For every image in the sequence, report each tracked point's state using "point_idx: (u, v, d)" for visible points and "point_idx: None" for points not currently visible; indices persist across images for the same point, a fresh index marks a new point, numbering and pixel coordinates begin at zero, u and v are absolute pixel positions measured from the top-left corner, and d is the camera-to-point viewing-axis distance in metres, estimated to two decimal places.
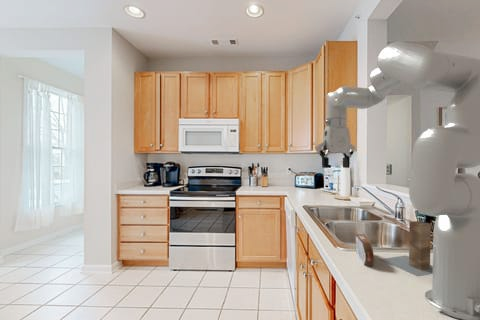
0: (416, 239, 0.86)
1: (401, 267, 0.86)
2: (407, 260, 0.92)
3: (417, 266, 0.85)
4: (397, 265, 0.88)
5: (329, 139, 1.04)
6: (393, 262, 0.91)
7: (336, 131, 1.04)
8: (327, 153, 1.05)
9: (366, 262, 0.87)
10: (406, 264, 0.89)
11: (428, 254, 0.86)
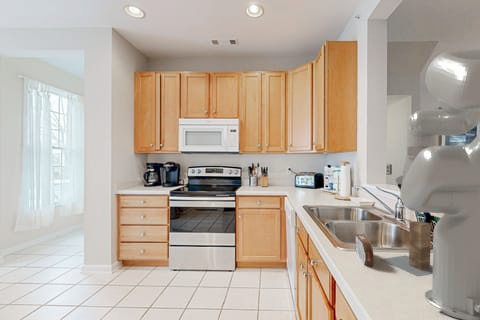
0: (416, 239, 0.86)
1: (401, 267, 0.86)
2: (407, 260, 0.92)
3: (417, 266, 0.85)
4: (397, 265, 0.88)
5: None
6: (393, 262, 0.91)
7: None
8: None
9: (366, 262, 0.87)
10: (406, 264, 0.89)
11: (428, 254, 0.86)
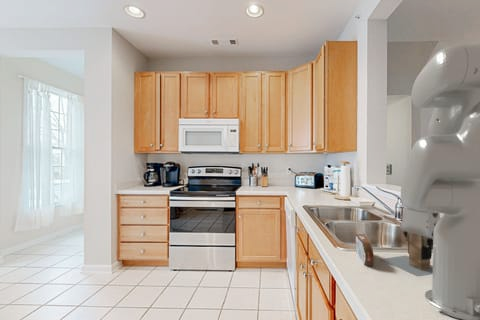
0: (416, 239, 0.86)
1: (401, 267, 0.86)
2: (407, 260, 0.92)
3: (417, 266, 0.85)
4: (397, 265, 0.88)
5: None
6: (393, 262, 0.91)
7: None
8: None
9: (366, 262, 0.87)
10: (406, 264, 0.89)
11: None
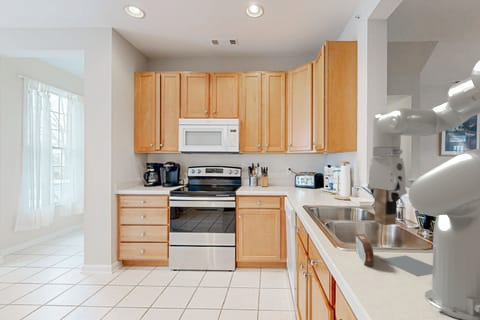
0: (381, 194, 0.84)
1: (401, 267, 0.86)
2: (407, 260, 0.92)
3: (382, 222, 0.84)
4: (397, 265, 0.88)
5: (404, 175, 0.81)
6: (393, 262, 0.91)
7: None
8: None
9: (366, 262, 0.87)
10: (406, 264, 0.89)
11: None
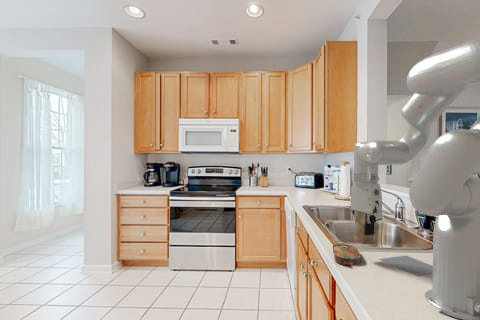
0: (361, 216, 0.92)
1: (401, 267, 0.86)
2: (407, 260, 0.92)
3: (360, 241, 0.91)
4: (397, 265, 0.88)
5: (381, 199, 0.89)
6: (393, 262, 0.91)
7: None
8: None
9: None
10: (406, 264, 0.89)
11: None
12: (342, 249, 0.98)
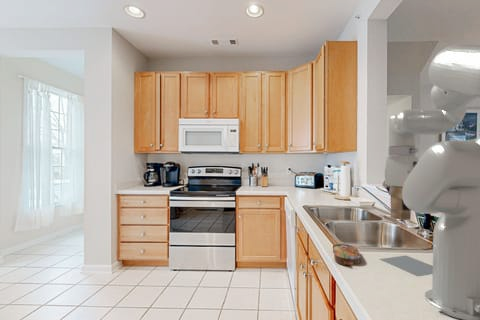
0: (398, 190, 0.89)
1: (401, 267, 0.86)
2: (407, 260, 0.92)
3: (398, 216, 0.88)
4: (397, 265, 0.88)
5: None
6: (393, 262, 0.91)
7: None
8: None
9: None
10: (406, 264, 0.89)
11: None
12: (342, 249, 0.98)
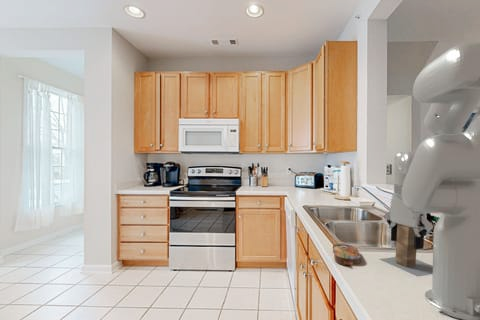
0: (403, 236, 0.88)
1: (401, 267, 0.86)
2: None
3: (403, 263, 0.88)
4: (397, 265, 0.88)
5: (426, 212, 0.85)
6: (393, 262, 0.91)
7: None
8: None
9: None
10: None
11: (414, 251, 0.88)
12: (342, 249, 0.98)
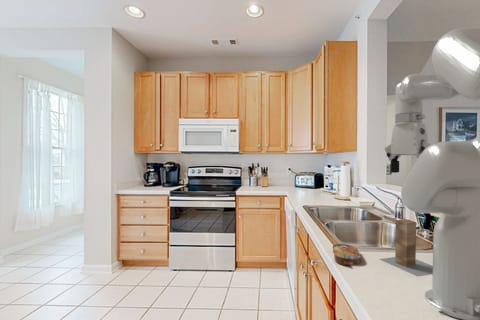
0: (402, 237, 0.88)
1: (401, 267, 0.86)
2: None
3: (403, 263, 0.88)
4: (397, 265, 0.88)
5: (427, 139, 0.85)
6: (393, 262, 0.91)
7: None
8: None
9: None
10: None
11: (413, 252, 0.88)
12: (342, 249, 0.98)
